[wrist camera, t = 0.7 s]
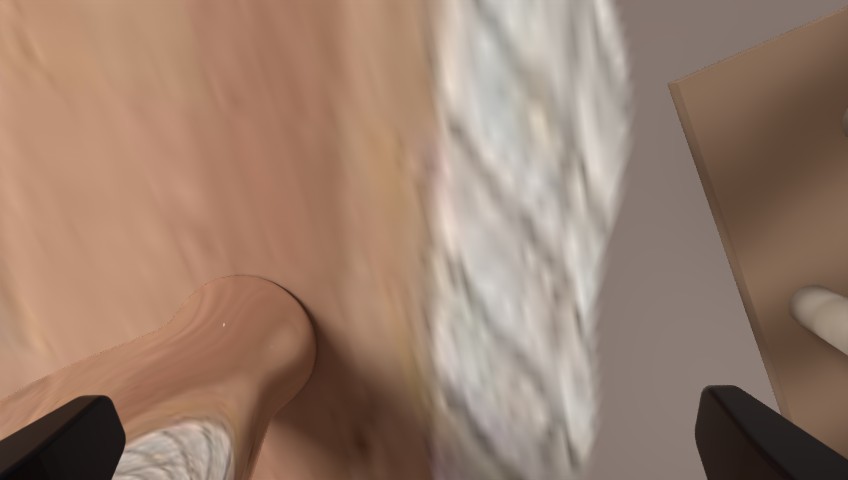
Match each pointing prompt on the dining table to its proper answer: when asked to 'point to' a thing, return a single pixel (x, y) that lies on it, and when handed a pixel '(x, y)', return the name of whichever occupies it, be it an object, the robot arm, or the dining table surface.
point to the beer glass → (191, 383)
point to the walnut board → (784, 206)
